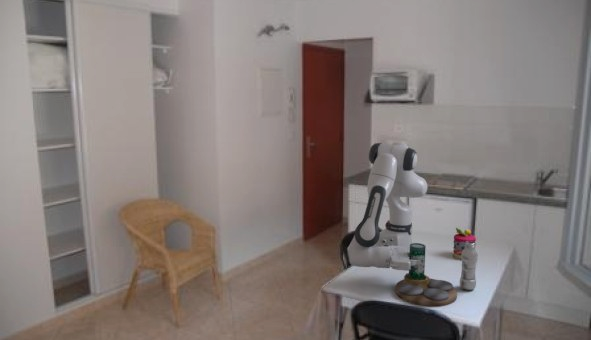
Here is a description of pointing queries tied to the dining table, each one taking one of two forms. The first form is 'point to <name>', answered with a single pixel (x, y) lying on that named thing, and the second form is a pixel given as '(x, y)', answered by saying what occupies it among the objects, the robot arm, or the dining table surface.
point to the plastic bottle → (468, 266)
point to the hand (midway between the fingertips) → (419, 258)
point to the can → (415, 253)
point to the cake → (461, 242)
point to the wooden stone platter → (426, 291)
